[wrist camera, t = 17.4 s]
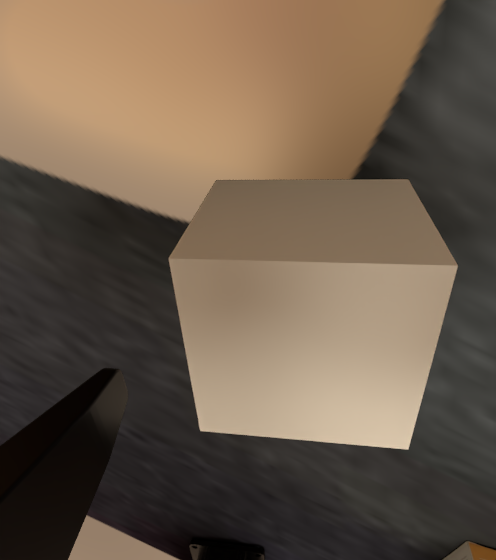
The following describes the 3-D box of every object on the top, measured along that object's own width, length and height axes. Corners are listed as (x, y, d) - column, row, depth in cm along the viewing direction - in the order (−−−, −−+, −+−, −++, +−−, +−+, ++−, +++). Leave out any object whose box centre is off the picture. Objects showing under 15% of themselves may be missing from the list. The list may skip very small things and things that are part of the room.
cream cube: (382, 330, 20) (408, 449, 14) (230, 323, 21) (200, 431, 15) (408, 179, 16) (458, 265, 10) (216, 180, 17) (168, 258, 11)
